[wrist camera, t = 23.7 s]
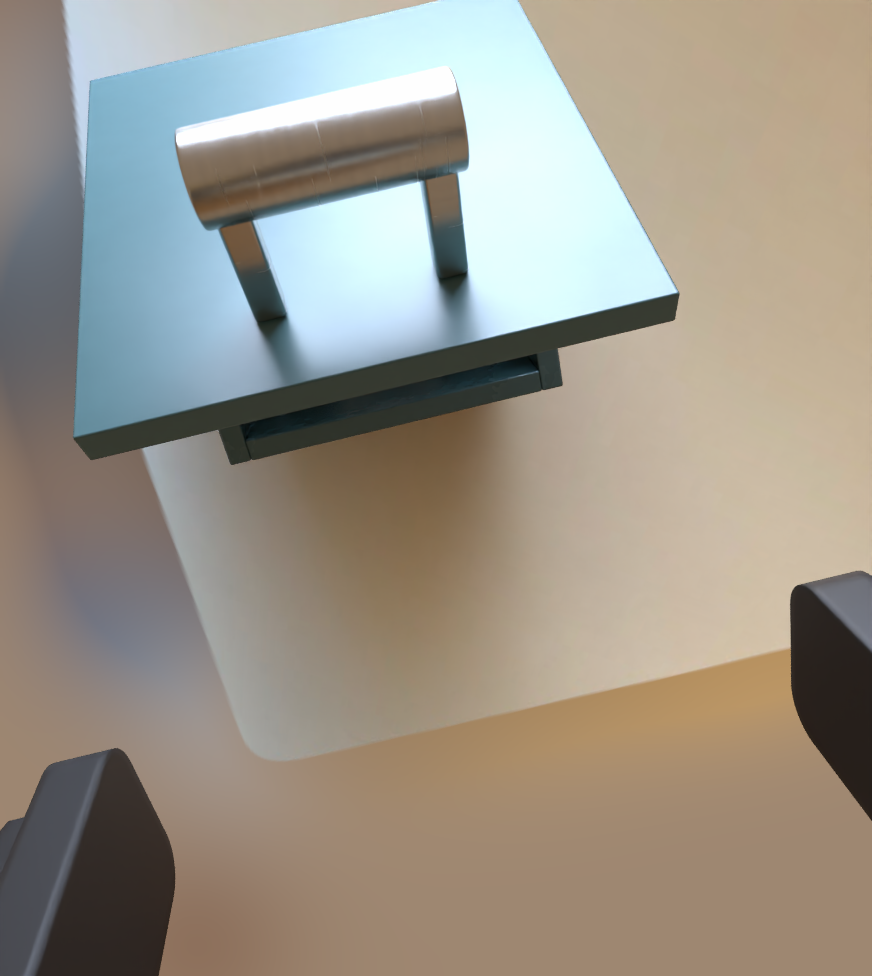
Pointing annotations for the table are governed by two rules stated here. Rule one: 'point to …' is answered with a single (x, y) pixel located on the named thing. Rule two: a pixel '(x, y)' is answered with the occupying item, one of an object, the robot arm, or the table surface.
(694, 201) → the table surface
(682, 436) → the table surface
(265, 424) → the bread bin
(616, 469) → the table surface
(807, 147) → the table surface
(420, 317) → the lid
